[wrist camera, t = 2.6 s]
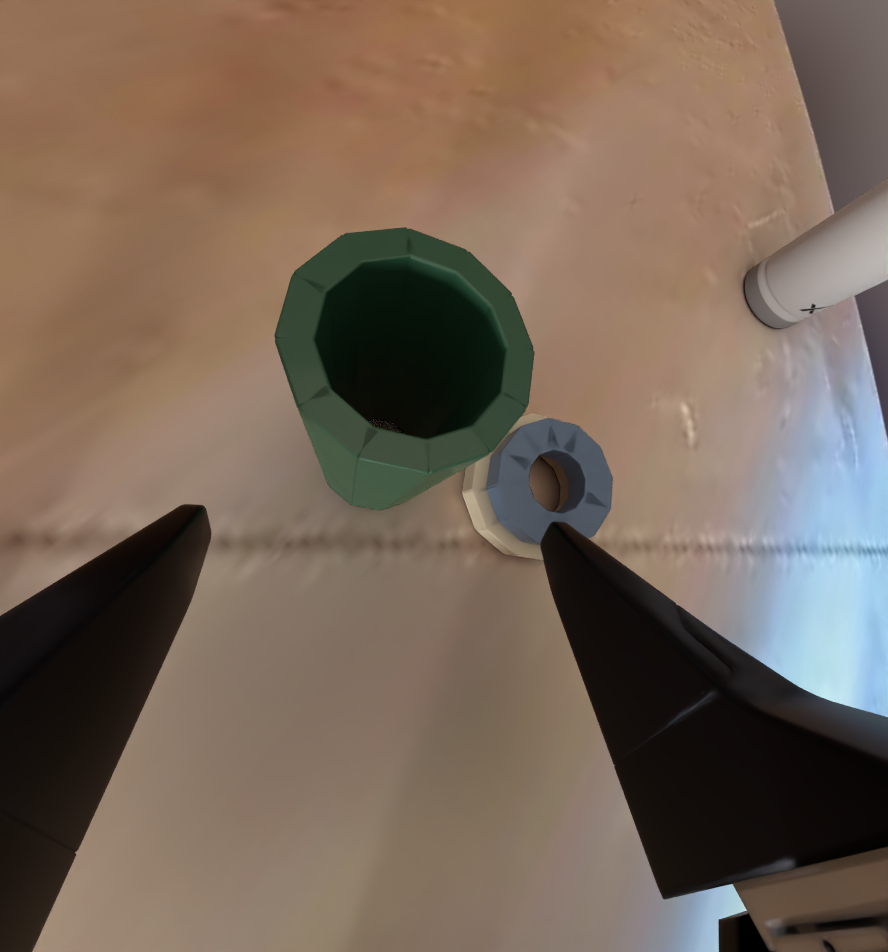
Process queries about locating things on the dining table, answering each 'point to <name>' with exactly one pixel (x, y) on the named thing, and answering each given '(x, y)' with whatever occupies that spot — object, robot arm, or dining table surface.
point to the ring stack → (509, 494)
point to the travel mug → (824, 263)
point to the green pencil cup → (401, 362)
